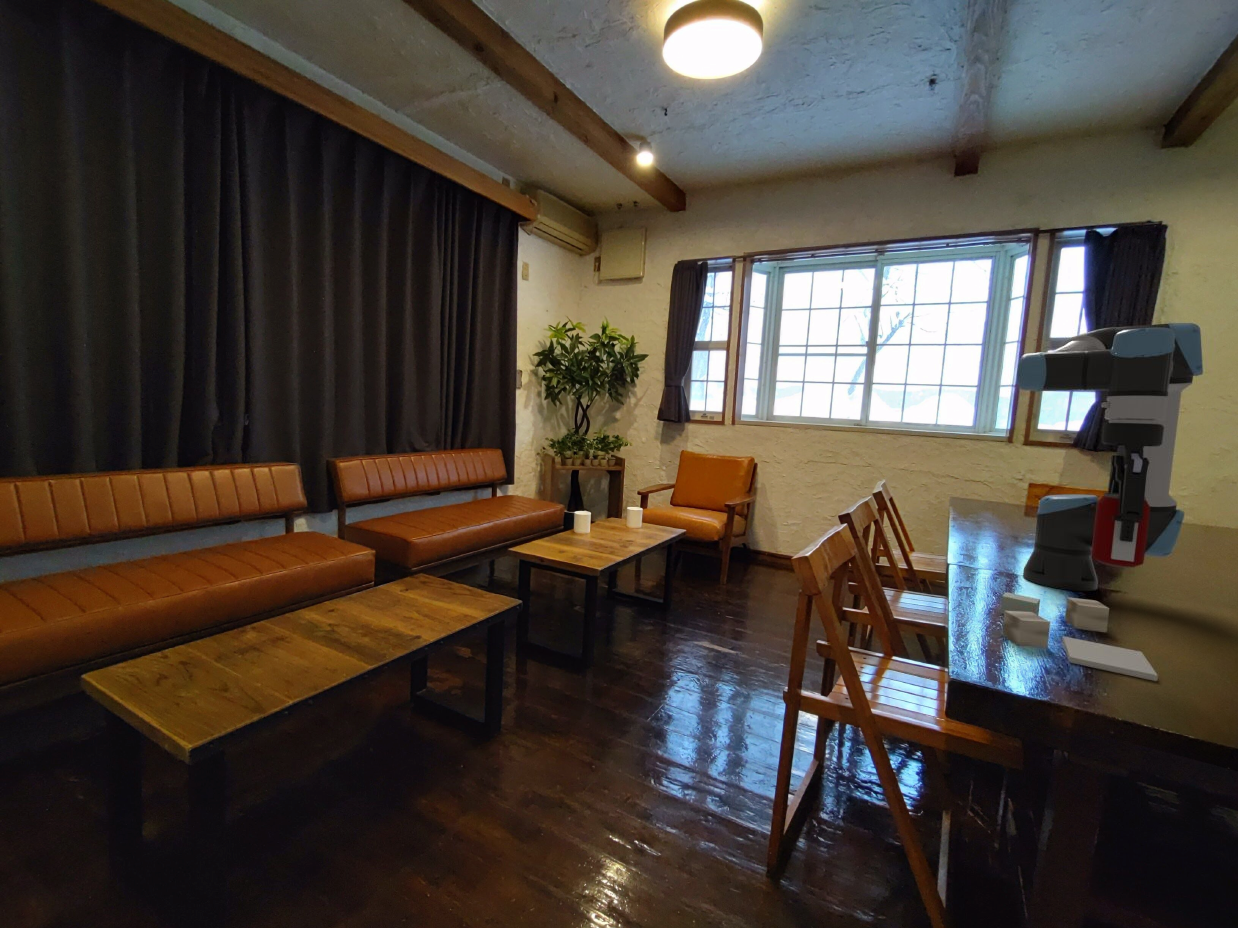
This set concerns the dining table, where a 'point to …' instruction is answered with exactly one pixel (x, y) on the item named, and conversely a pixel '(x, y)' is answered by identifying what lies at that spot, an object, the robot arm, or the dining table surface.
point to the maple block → (1026, 629)
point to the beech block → (1087, 614)
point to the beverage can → (1105, 532)
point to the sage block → (1019, 603)
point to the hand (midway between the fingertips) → (1117, 555)
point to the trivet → (1108, 658)
